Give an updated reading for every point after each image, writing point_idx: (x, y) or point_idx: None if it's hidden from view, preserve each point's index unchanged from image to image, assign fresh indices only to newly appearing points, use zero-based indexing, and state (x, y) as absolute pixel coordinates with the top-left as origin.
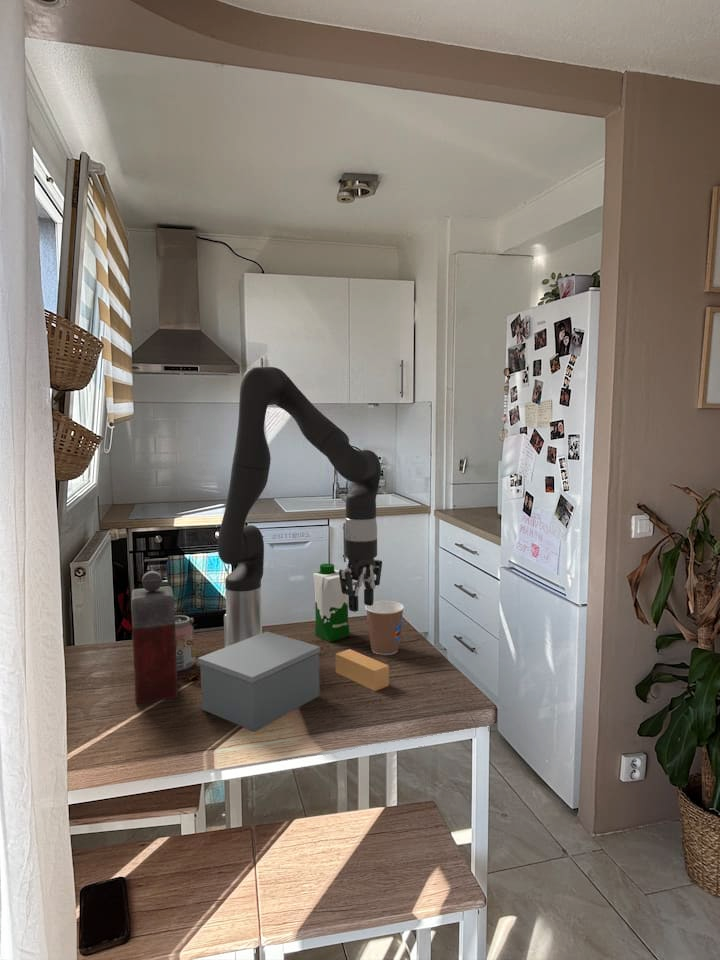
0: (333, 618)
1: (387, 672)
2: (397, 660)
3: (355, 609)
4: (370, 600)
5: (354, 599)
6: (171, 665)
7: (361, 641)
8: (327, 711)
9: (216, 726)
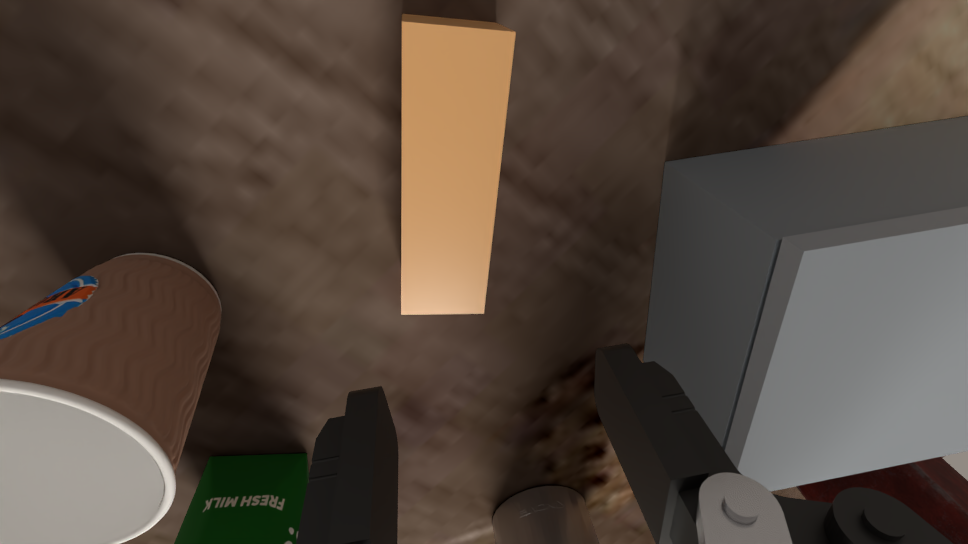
0: (272, 535)
1: (414, 19)
2: (171, 190)
3: (632, 362)
4: (381, 431)
5: (700, 449)
6: (927, 470)
7: (196, 408)
8: (759, 36)
9: None
